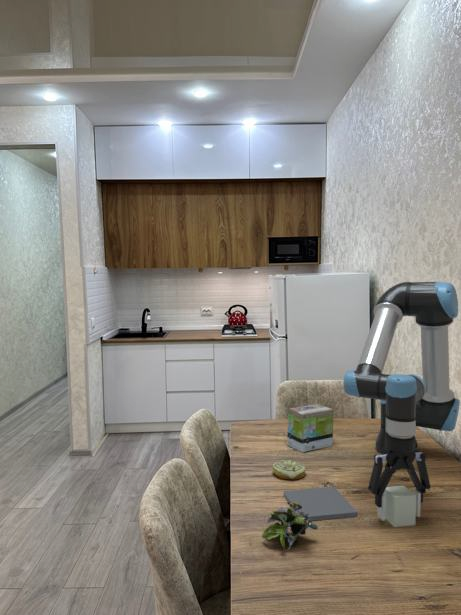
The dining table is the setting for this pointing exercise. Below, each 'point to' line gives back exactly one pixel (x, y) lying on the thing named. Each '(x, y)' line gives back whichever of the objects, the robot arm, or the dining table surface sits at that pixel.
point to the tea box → (310, 427)
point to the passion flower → (288, 524)
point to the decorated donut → (289, 469)
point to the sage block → (400, 506)
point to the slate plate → (321, 503)
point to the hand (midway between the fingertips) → (398, 516)
